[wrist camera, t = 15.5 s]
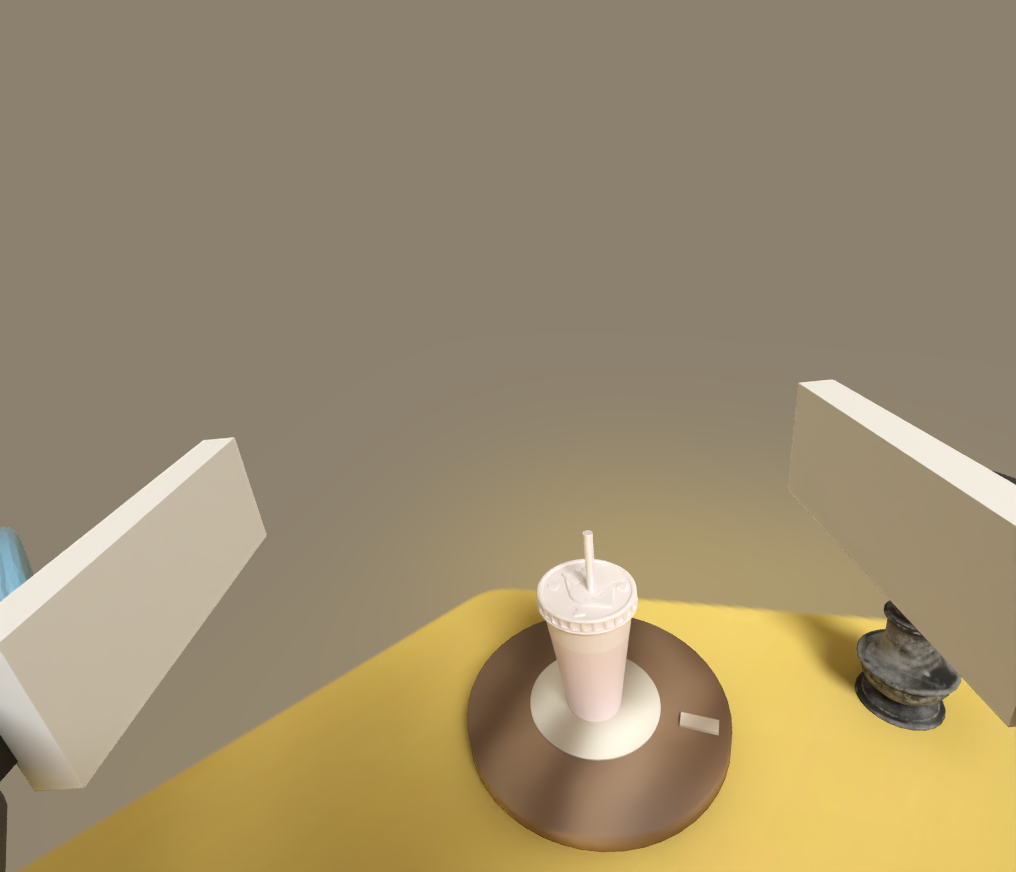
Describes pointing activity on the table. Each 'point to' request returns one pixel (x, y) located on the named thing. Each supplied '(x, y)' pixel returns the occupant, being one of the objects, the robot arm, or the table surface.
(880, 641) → the salt shaker
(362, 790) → the table surface
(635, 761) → the turntable
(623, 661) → the smoothie
